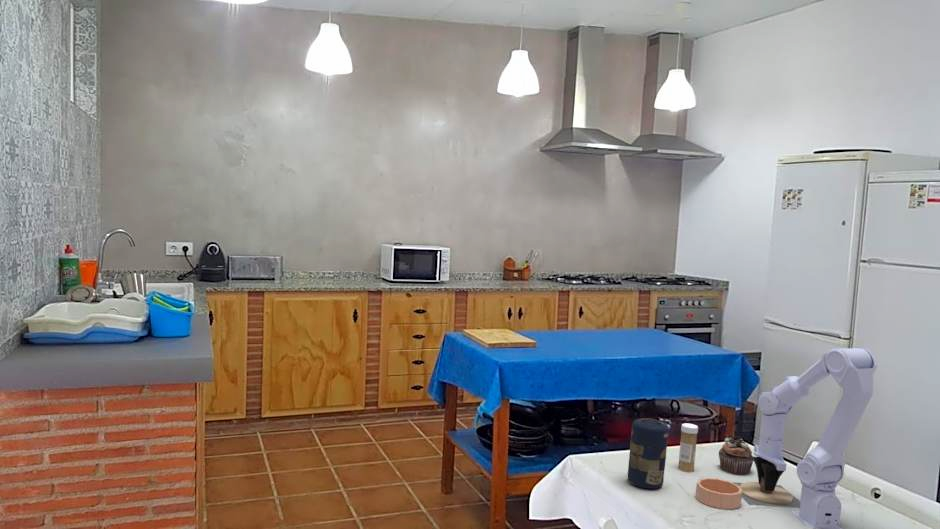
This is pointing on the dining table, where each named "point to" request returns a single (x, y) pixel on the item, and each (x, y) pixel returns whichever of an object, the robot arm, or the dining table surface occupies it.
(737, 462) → the cupcake
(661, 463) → the navy canister
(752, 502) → the mat
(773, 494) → the lid
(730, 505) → the bowl
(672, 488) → the dining table surface
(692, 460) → the sprinkles bottle
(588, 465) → the dining table surface
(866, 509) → the dining table surface
